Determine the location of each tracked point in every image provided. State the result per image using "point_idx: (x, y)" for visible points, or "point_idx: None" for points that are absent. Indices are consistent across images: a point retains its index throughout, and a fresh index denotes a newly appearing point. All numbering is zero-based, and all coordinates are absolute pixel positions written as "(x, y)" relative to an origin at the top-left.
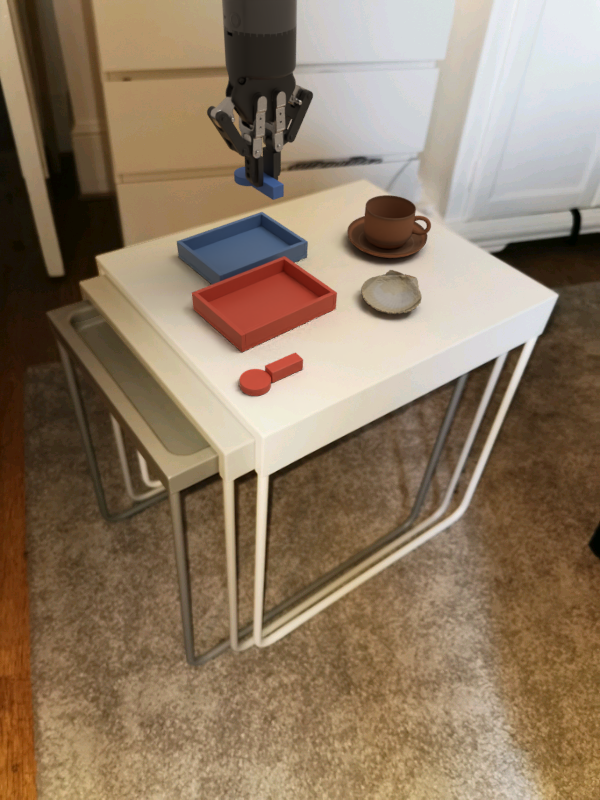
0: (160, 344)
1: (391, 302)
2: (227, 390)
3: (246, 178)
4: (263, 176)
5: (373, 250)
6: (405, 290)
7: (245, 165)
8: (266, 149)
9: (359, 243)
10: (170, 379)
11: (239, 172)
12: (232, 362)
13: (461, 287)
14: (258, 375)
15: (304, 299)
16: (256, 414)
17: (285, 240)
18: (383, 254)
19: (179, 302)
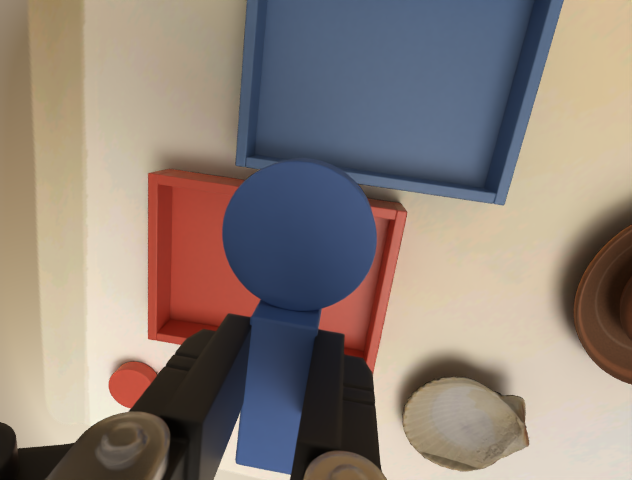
0: (68, 209)
1: (452, 413)
2: (101, 360)
3: (196, 334)
4: (235, 422)
5: (607, 294)
6: (495, 423)
7: (158, 379)
8: (294, 478)
9: (614, 258)
10: (44, 287)
11: (261, 206)
12: (140, 325)
13: (585, 467)
14: (139, 388)
15: (342, 309)
16: (107, 414)
17: (504, 119)
18: (582, 345)
19: (160, 128)
